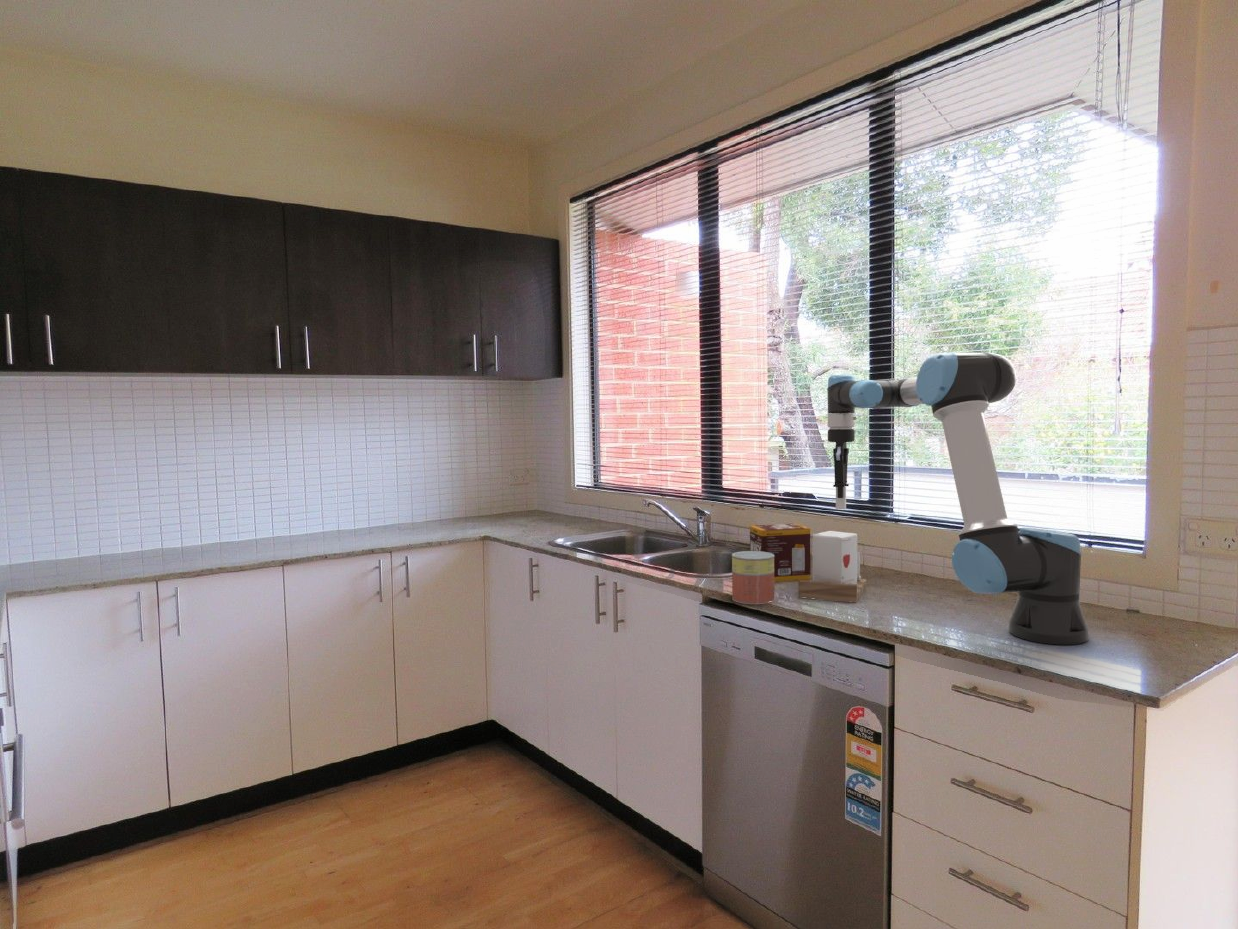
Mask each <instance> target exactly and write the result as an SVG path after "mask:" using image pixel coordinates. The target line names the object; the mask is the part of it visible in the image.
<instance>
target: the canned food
mask: <svg viewBox="0 0 1238 929" xmlns="http://www.w3.org/2000/svg"><path fill="white" fill-rule="evenodd" d="M774 556H775V555H774V554H772V553H769V552H763V551H750V550H742V551H736V552H733V553H732V554H731V573H732V574H731V577H732V578H731V582H732V584H731V586H732V587H731V588H732V589H731V590H732V591H731V594H732V597H731V600H733V602H735V603H740V604H745V605H766V604H769V603H768V602H769V601H773V600H774V598H775V582H774ZM774 601H775V600H774ZM774 601H773V602H774Z"/></svg>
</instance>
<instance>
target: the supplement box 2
mask: <svg viewBox="0 0 1238 929" xmlns="http://www.w3.org/2000/svg"><path fill="white" fill-rule="evenodd" d="M857 552H858V533H854V532H846V531H845V532H843V531H838V530H837V531H836V530H828V531H827V530H826V531H822V532H818V533H813V534H812V576H813V581H818V582H832V583H846V584H857Z"/></svg>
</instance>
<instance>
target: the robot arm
mask: <svg viewBox="0 0 1238 929" xmlns="http://www.w3.org/2000/svg"><path fill="white" fill-rule="evenodd" d="M1016 372H1017V371H1016V369H1015V367H1014V364H1013V363H1012V362H1011V361H1010V360H1009V359H1008V358H1006V357H1004V356H1003V355H1001V354H998V353H994V352H953V351H948V352H943V353H934V354H932V355H930V356H929V357H927V358H926V359H924V361H923V363H922V364H921V365H920V368H919V371H918V373H917V375H916V377H909V378H904V379H896V380H895V379H894V380H893V379H892V380H887V379H886V380H871V379H862V380H855V379H856V378H855V376H854V375H853V374H836V375H835V374H834V375H833V374H832V375H830V376H829V377H828V379H827V389H826V391H827V428H829V429H828V430H827V442H829V443H835V446H834V448H833V450H832V453H833V455H832V456H833V467H834V469H833V470H834V472H833V473H834V484H832V486H833V488H835V509H836V510H847V487H849V483H848V465H849V464H848V462H849V453H850V448H849V447H848V446H847V445H848V444H847V443H852V442H855V440H856V439H855V438H856V437H855V432H856V431H855V430H854V429H855V428H854V427H855V421H857V416H855V410H856V409H857V408H858V409H869V408H912V407H917V406H921V405H926V406H928V407H929V406H931V411H932V415H933V416H932V417H933V418H935V419H936V420H938V421H940V422H941V423H942V428H943V434H944V437H945V441H946V448H947V450H948V456H949V461H950V465H951V470H952V475H953V479H954V483H955V488H956V493H957V494H956V495H957V498H958V502H959V507H960V512H961V517H962V521H963V528H962V529H961V530H960V532H959V533H958V538H959V541H957V543H956V544H955V545H954V546H953V549H952V551H953V553H952V554H951V564H952V567H953V570H954V571H953V572H954V573H955V575H956V577H957V579H958V581H959V582H961V584H962V586H964V587H965V588H967V589H968V590H969V591H970V592H973V593H975V594H980V595H981V594H982V595H984V594H985V595H986V594H990V595H998V594H1001V593H1002V594H1003V593H1014V592H1017V594H1018V596H1017V599H1016V602H1015V604H1014V608H1013V610H1012V613H1011V615H1010V618H1009V621H1008V632H1009V633H1010V634H1011V635H1013V636H1015V637H1017V638H1020V639H1023V640H1026V641H1029V642H1030V641H1031V642H1036V643H1040V644H1049V645H1063V646H1064V645H1080V644H1085V643H1086V642H1088V640H1089V627H1088V624H1087V622H1086V618H1085V616H1084V612H1083V610H1082V606H1081V603H1080V590H1081V586H1080V585H1081V584H1080V583H1081V563H1082V562H1081V560H1082V559H1081V558H1082V552H1081V541H1080V538H1078V536H1077V535H1076V534H1073V533H1069V532H1065V531H1064V532H1063V531H1057V530H1053V529H1052V530H1051V529H1050V530H1048V529H1041V528H1033V527H1021V528H1020V529H1018V526H1017V524H1015V523H1014V522H1013V521H1011V520H1009V518H1008V516H1007V512H1006V507H1005V502H1004V498H1003V494H1002V489H1001V486H1000V485H1001V484H1000V481H999V477H998V472H997V468H996V464H995V458H994V456H993V451H992V450H993V449H992V446H991V442H990V438H989V433H988V428H987V424H986V419H985V415H984V414H985V411H987V409H988V408H989V406H990V405H989V404H992V403H996V402H1000V401H1002V400H1003V399H1005V398H1007V397H1008V396H1009V395H1010V394H1011V393H1012V392H1013V390H1014V388H1015V386H1016V381H1017V373H1016ZM853 428H854V429H853Z"/></svg>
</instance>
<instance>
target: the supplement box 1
mask: <svg viewBox="0 0 1238 929" xmlns="http://www.w3.org/2000/svg"><path fill="white" fill-rule="evenodd" d="M749 551H763V552H769V553H772V554H774V555H775V556H774V583H779V582H780V583H781V582H782V581H783V582H791V581H792V582H795V581H796V582H797V581H799V580H804V581H809V580H810V579H811V577H812V576H811V574H812V573H811V567H812V566H811V559H812V557H811V528H810V527H807V526H804V525H801V524H798V523H795V522H793V523H780V524H779V523H778V524H760V525H758V524H755V525H749Z"/></svg>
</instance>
